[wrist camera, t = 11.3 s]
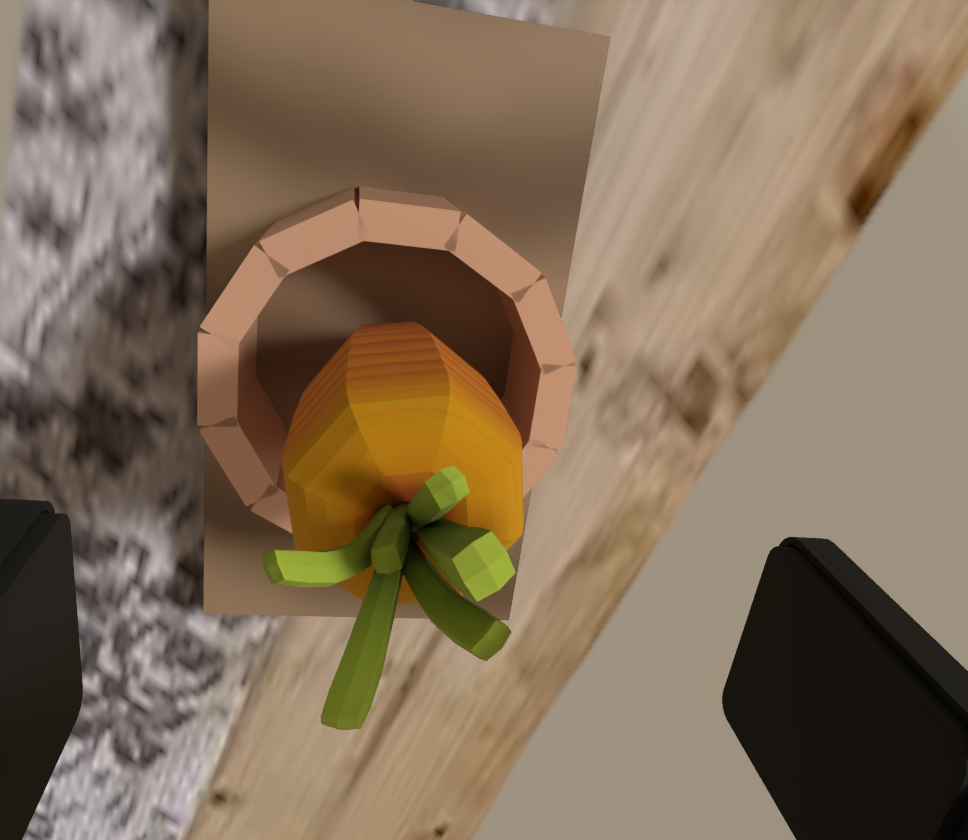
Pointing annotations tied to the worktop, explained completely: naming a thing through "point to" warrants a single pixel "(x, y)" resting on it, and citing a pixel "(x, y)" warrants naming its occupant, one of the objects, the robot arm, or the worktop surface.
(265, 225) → the walnut board
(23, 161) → the worktop surface
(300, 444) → the carrot
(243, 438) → the terracotta cup
